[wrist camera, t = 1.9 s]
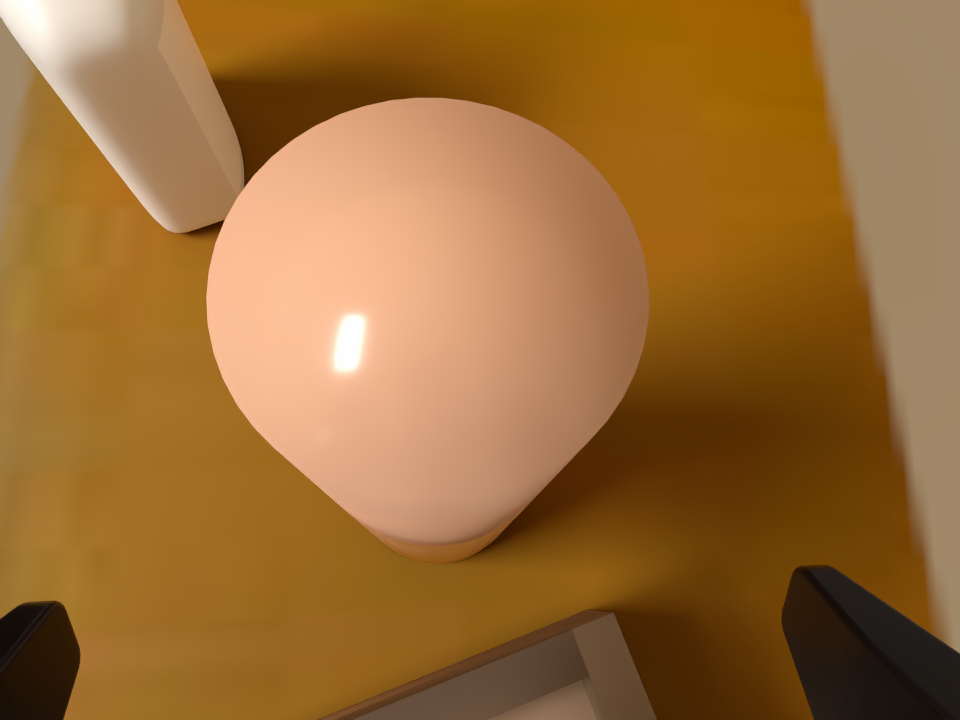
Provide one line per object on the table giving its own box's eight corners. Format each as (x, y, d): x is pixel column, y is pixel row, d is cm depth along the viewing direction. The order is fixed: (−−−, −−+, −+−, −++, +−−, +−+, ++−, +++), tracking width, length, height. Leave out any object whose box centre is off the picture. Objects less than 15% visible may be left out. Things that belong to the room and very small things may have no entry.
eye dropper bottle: (272, 88, 23) (107, -402, 12) (236, 246, 21) (1, -150, 10) (135, 73, 23) (-164, -435, 12) (88, 230, 21) (-318, -188, 10)
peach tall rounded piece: (543, 528, 19) (722, 410, 7) (386, 589, 19) (276, 578, 6) (485, 379, 21) (550, 54, 8) (335, 431, 20) (160, 162, 8)
